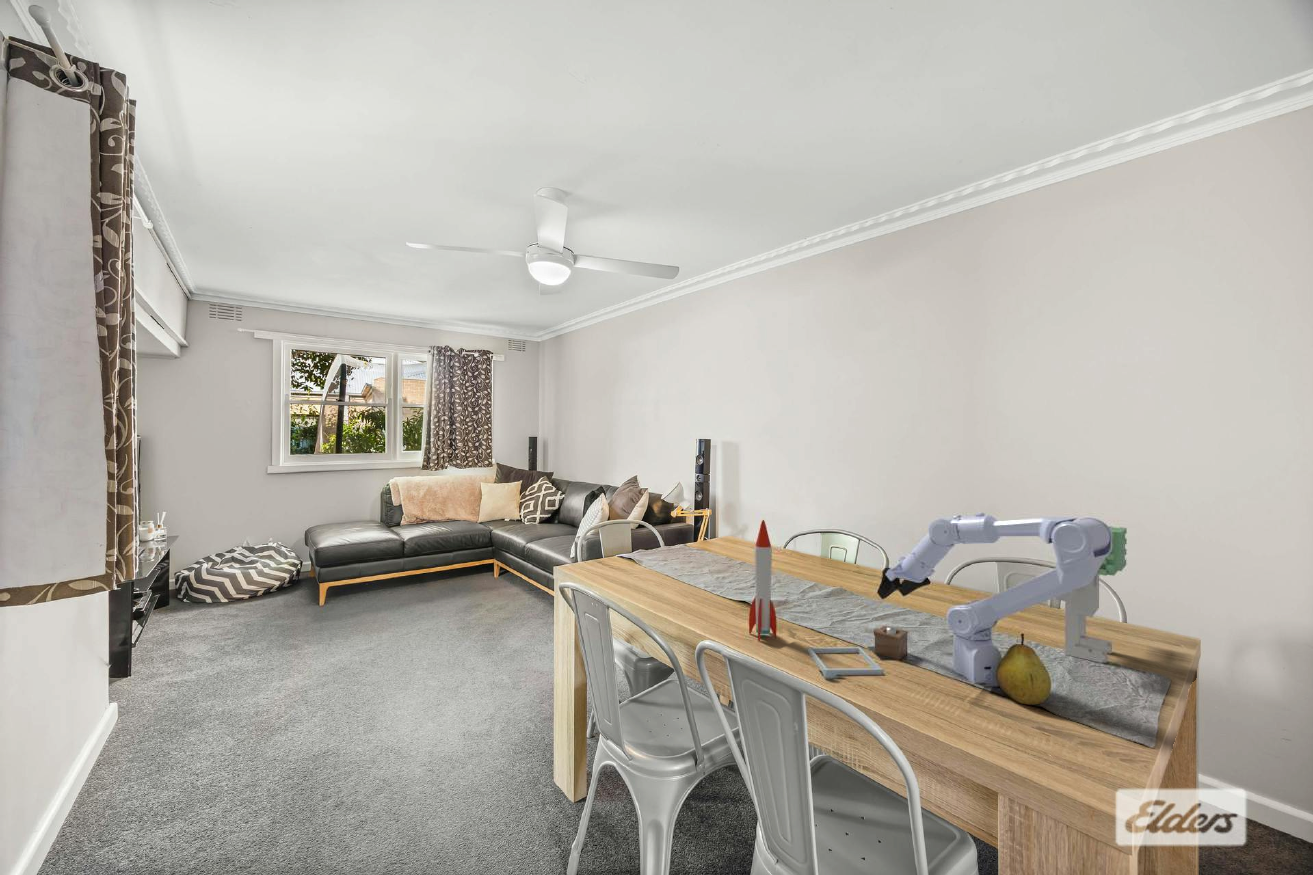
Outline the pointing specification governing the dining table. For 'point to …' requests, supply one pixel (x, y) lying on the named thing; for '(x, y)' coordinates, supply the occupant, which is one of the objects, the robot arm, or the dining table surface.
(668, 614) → the dining table surface
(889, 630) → the post
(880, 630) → the collar
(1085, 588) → the toy
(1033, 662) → the fruit
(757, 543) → the toy rocket
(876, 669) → the grey rectangular frame
